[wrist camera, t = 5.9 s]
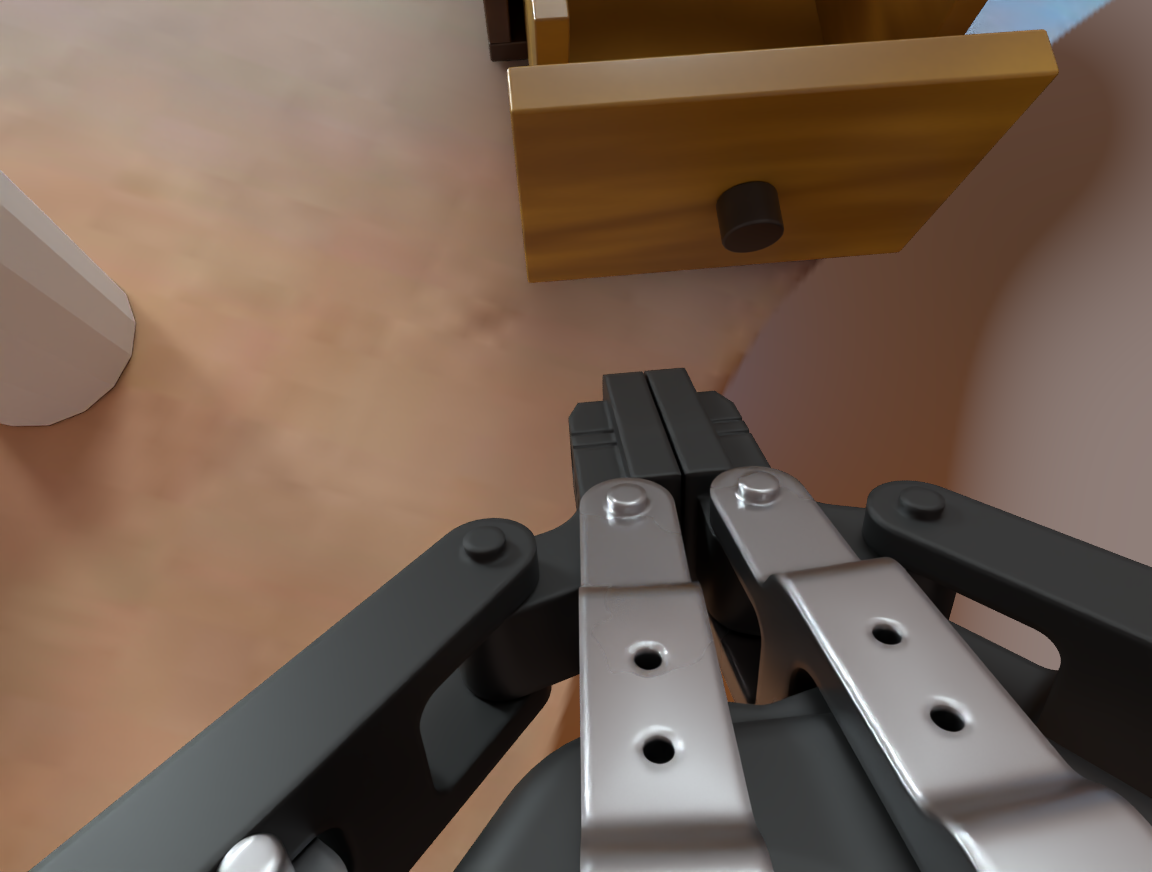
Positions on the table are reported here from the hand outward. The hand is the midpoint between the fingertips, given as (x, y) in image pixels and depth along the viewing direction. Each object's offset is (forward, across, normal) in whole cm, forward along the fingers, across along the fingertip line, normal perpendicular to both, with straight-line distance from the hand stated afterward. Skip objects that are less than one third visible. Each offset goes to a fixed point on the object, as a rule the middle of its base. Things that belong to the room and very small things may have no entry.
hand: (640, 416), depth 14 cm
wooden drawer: (+15, -4, -4) cm, 16 cm away
